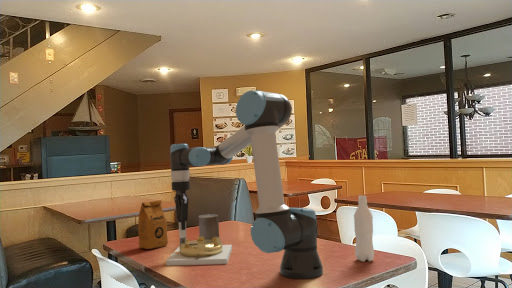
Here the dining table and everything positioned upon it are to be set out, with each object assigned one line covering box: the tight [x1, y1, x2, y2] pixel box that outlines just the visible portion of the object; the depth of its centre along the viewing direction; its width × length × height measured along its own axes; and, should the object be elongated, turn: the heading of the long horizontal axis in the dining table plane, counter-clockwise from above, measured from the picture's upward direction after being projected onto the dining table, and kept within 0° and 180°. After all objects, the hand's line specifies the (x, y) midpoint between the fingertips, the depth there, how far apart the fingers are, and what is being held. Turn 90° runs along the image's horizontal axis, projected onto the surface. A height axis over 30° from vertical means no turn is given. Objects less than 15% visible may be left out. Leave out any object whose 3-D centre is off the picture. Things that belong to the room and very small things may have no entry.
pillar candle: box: [198, 212, 220, 240], centre depth 193 cm, size 10×10×15 cm
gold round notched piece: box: [179, 236, 223, 257], centre depth 169 cm, size 18×18×10 cm
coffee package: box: [137, 199, 169, 250], centre depth 190 cm, size 10×12×22 cm
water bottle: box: [353, 195, 375, 262], centre depth 156 cm, size 7×7×25 cm
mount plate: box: [165, 244, 233, 267], centre depth 169 cm, size 24×24×2 cm
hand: (182, 237), depth 166 cm, fingers closed
